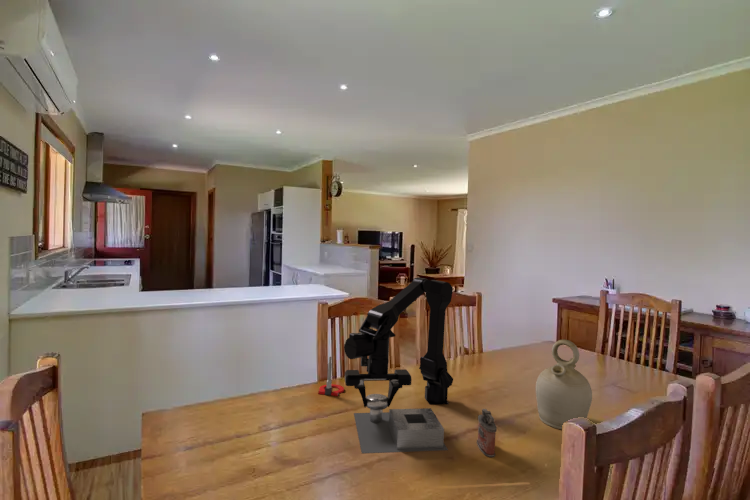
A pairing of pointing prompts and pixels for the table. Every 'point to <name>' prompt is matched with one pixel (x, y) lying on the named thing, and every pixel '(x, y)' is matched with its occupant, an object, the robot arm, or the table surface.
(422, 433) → the hitch block
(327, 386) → the tow hook
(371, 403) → the silver door knob
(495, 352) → the table surface
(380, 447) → the mat
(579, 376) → the jug
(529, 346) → the table surface
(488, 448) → the lighter
